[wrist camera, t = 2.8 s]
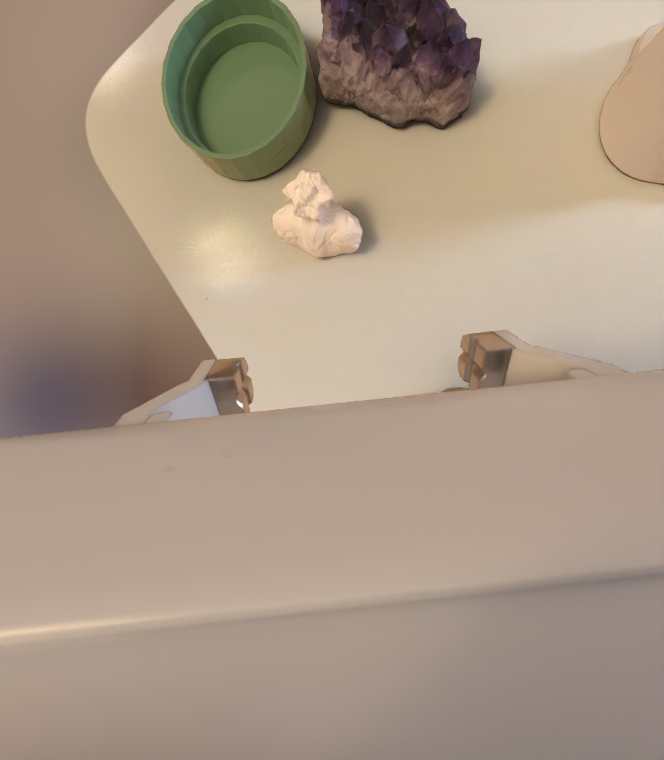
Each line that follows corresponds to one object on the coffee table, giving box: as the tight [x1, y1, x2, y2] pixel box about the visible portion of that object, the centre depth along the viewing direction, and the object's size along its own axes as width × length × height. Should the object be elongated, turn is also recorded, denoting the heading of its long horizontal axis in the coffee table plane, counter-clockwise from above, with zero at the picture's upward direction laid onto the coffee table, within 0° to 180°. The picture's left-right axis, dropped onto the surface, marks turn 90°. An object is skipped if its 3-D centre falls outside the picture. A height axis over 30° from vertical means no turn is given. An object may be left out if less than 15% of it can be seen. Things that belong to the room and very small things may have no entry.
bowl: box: [162, 0, 316, 180], centre depth 40 cm, size 19×19×6 cm
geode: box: [316, 0, 482, 129], centre depth 35 cm, size 20×12×10 cm, turn 66°
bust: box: [272, 169, 363, 258], centre depth 38 cm, size 12×8×11 cm
